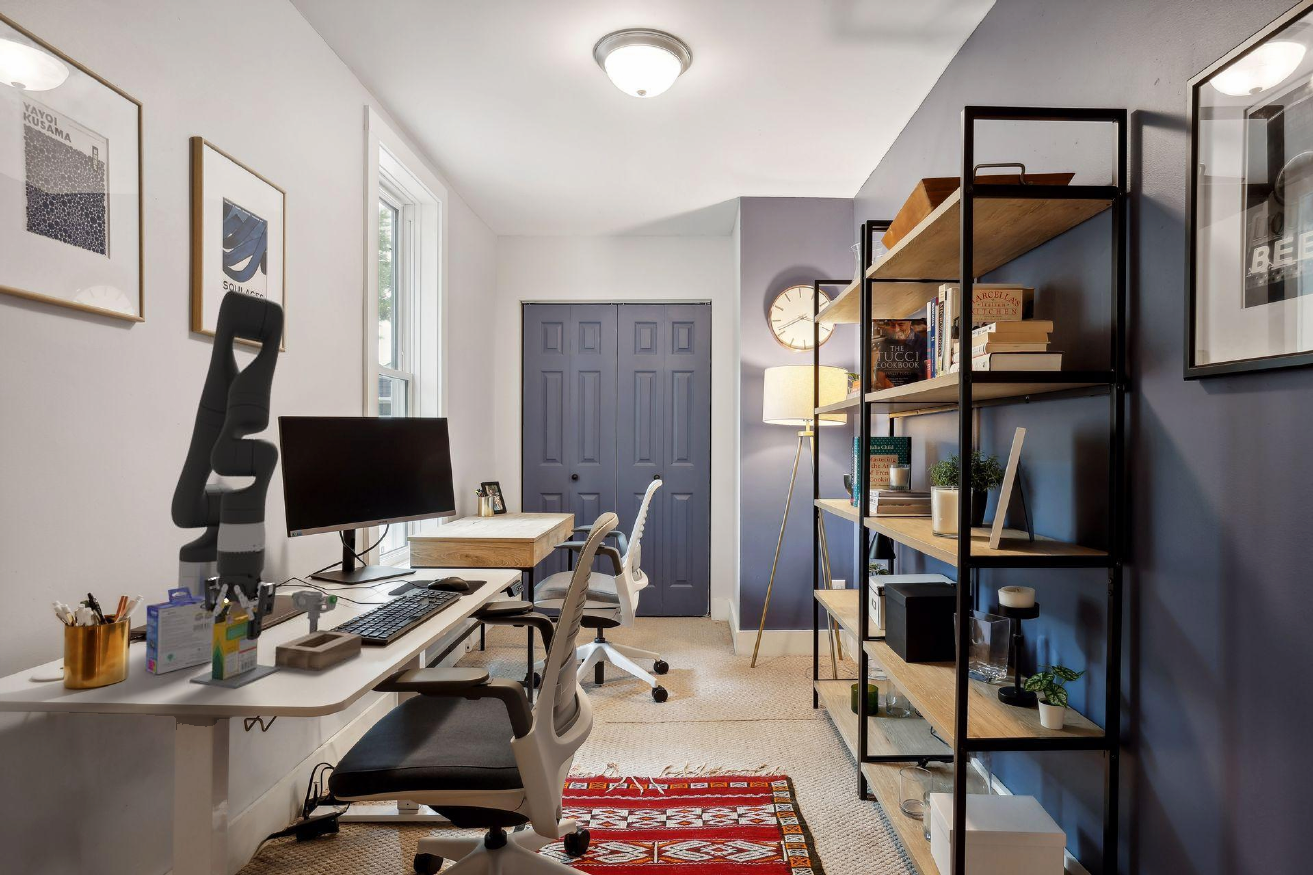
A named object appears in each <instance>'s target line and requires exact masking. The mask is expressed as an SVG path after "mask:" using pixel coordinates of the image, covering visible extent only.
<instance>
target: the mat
mask: <svg viewBox="0 0 1313 875" xmlns="http://www.w3.org/2000/svg"><path fill="white" fill-rule="evenodd" d="M280 670H281V667H278V666H271V665H265V664H257V668H253V669H251V670H248V671H245V672H243V673H240V674H237V675H235V676H232V677H230V678H227V679H226V680H220V679H213V678H212V670H211V671H209V672H206V673H202V674H200V675H197V676H195V677H192V678H189V682H190V683H198V684H203V685H204V684H205V685H211V686H217V687H218V686H219V687H223V688H224V687H225V688H233V689H238V688H241V687H242V686H243V687H244V686H245V685H247V684H249V683H252V682H255V681H257V680H260V679H261V678H264V677H266V676H269V675H271V674H274V673H276V672H277V671H280Z"/></svg>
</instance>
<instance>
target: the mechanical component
mask: <svg viewBox="0 0 1313 875" xmlns="http://www.w3.org/2000/svg"><path fill="white" fill-rule="evenodd" d="M291 598H292V601H293V602H292V604H293V608H294V610H296V611H297V612H307V617H306V618H307V620H309V629H308V630H309V634H311V633H313V632H316V631H318V627H319V626H318V624H319V623H318V622H319V619H320V618H321V614H325V613H328V612H330V611H334V610H335V609H336V607H337V603H338V600H339V598H338V596H337V595H335V594H328V595H327V596H326V598H325V596H323V591H314V590H313V591H311V590H302V589H301V590H299V591H295V592H294V591H293V593H292V594H291ZM323 606H326V607H323Z"/></svg>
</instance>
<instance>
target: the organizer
mask: <svg viewBox="0 0 1313 875" xmlns="http://www.w3.org/2000/svg"><path fill="white" fill-rule="evenodd" d="M361 650H362V634H358V633H349V632H341V631H340V632H339V631H332V630H331V631H330V630H323V629H320V630H317V631H316V632H313V633H311V634H305V635H303V636H300V637H298V638H296V639H293V640H290V641H287V642H284V643H281V644H280V645H279V644H278V645H276V646H275V659H274V665H275V666H284V667H288V668H289V667H290V668H299V669H305V670H312V669H313V670H314V671H322V670H324V669H325V668H328V667H331V666H332V665H334V664H337V663H339V662H341V661H344V660H346V659H348V658H350V657H353V656H354V655H356V654H359V653H360V652H361ZM321 669H322V670H321Z"/></svg>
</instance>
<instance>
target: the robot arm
mask: <svg viewBox="0 0 1313 875" xmlns="http://www.w3.org/2000/svg"><path fill="white" fill-rule="evenodd" d="M217 316H218V317H217V321H216V327H215V334H214V340H213V347H212V349H211V350H212V351H211V357H210V362H209V365H208V370H207V374H206V378H205V382H204V384H203V390H202V393H201V394H200V400H199V403H198V408H197V410H196V415H195V422H194V427H193V431H192V436H191V440H190V443H189V444H190V445H189V447H188V451H187V452H188V453H187V455H186V459H185V461H184V464H183V467H182V469H181V473H180V475H179V478H178V481H177V483H176V487H175V490H174V493H173V497H172V500H171V508H170V515H171V520H172V522H173V524H174V525H175V526H176V527H178V528H180V529H186V530H187V529H198V528H199V529H200V528H201V529H202V528H206V530H205V532H204V533H203V534H202V535H201V536H199V537H198V538H196V539H195V540H193V541H191V542H188V543H186V544H184V545H182V546H181V547H180V549H179V553H178V561H179V562H178V580H177V582H178V583H177V584H178V585H177V589H178V588H185V587H189V590H190V593H191V596H192V597H198V596H205V609H206V611H208V612H209V611H211V612H213V614H214V624H218V623H221V622H225V620H226V619H225V616H227V615H230V613H229V612H230V610H231V609H232V607H233V605H234V604H235V603H238V604H240V605H241V608H242V609H243V610H246V612H247V613H246V615H248V618H249V619H250V620H248V624H247V640H254V639H257V638H258V639H259V638H260V636H261V634H262V629H263V628H262V626H263V618H264V617H267V616H270V615H272V614H273V611H274V604H275V599H276V591H277V583H276V582H269V583H268V582H263V579H262V576H261V575H262V572H263V570H264V569H265V558H266V536H267V535H266V527H265V525H266V524H265V523H266V521H265V520H266V519H265V517H266V516H265V515H266V500H267V494H268V490H269V486H270V483H271V480H272V477H273V474H274V472H275V469H276V468H277V464H278V460H279V450H278V447H277V445H276V444H275V443H274V442H273V441H272V440H269V439H263V438H244V436H249V435H254V434H255V435H256V434H259V433H262V432H264V431H266V430H267V428H268V426H269V423H270V409H271V393H272V385H273V379H274V376H275V371H276V366H277V362H278V359H279V354H280V347H281V342H282V337H283V333H284V332H283V331H284V326H285V310H284V306H283V305H282V304H281V303H280V302H278V301H276V300H273V299H270V298H267V297H262V296H258V295H254V294H249V293H247V292H244V291H238V290H228V291H227V292H226V293H225V294H224V296H223V298H222V301H221V303H220V306H219V310H218V315H217ZM236 338H237V339H241V340H245V341H251V342H255V343H260V344H261V348H260V351H259V352H258V354H257V355H256V357H255V358H253V360H252V361H251V362H250V363H249V364H248V365H247V366H246V367H244V368H243V369H242V370H241V371H240V369H239V367H238V364H237V360H236V357H235V353H234V341H235V339H236ZM212 472H214V473H215V474H217V475H218V476H221V477H236V478H237V477H238V478H239V477H241V478H243V477H247V478H249V477H250V478H251V477H254V478H255V480H254V481H253V483H252V484H251V485H249V486H246V487H243V488H242V487H241V488H236V489H234V488H233V487H232V485H230V484H227V483H208V481H209V478H210V475H211V473H212ZM182 595H187V593H186V592H177V593H176V594H175V595H173V597H176V596H182ZM212 599H214V604H213V601H212ZM252 600H253V601H252ZM253 608H255V610H256V612H254V609H253Z"/></svg>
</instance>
